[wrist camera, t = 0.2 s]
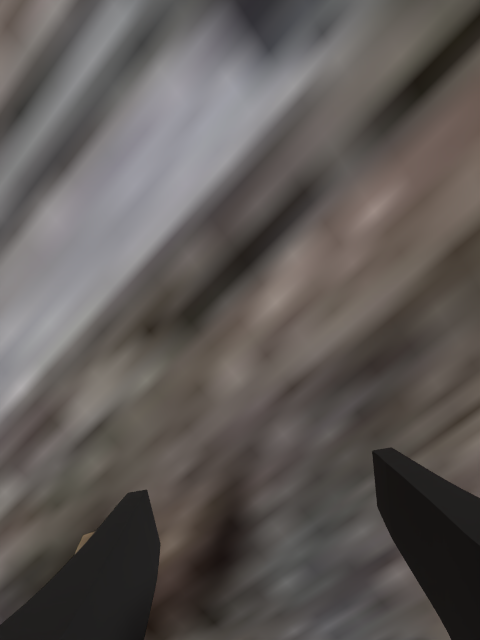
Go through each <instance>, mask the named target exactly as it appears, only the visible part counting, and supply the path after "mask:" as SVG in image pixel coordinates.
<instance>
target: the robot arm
mask: <svg viewBox="0 0 480 640" xmlns="http://www.w3.org/2000/svg"><path fill="white" fill-rule="evenodd" d="M372 454H373V465H374V476H375V487H376V497H377V507H378V509H379V511H380V513H381V516H382V518H383V520H384V522H385V525H386V527H387V529H388V531H389V533H390V535H391V537H392V539H393V541H394V543H395V544H396V546H397V548H398V549H399V551H400V553H401V554H402V556H403V558H404V559H405V561H406V563H407V564H408V566H409V568H410V569H411V571H412V573H413V574H414V576H415V577H416V579H417V581H418V582H419V584H420V586H421V587H422V589H423V591H424V592H425V594H426V596H427V597H428V599H429V600H430V602H431V604H432V605H433V607H434V609H435V610H436V612H437V614H438V616H439V617H440V619H441V621H442V623H443V624H444V626H445V628H446V630H447V632H448V634H449V636H450V638H451V640H480V498H478V497H476V496H474V495H473V494H471V493H469V492H467V491H465V490H463V489H461V488H459V487H457V486H456V485H454V484H452V483H450V482H448V481H447V480H445V479H443V478H441V477H440V476H438V475H436V474H434V473H433V472H431V471H429V470H428V469H426V468H424V467H423V466H421V465H420V464H418V463H416V462H415V461H413V460H411V459H410V458H408V457H406V456H405V455H403V454H402V453H400V452H398V451H396V450H395V449H393V448H386V449H380V450H374V451H372ZM159 555H160V540H159V536H158V532H157V528H156V524H155V520H154V516H153V512H152V508H151V504H150V500H149V496H148V492H147V490H142V491H136V492H130V493H127V495H126V496H125V497H124V498H123V499H122V500H121V501H120V503H119V504H118V505H117V506H116V507H115V509H114V510H113V511H112V512H111V513H110V515H109V516H108V517H107V518H106V520H105V521H104V522H103V523H102V524H101V525H100V527H99V528H98V529H97V530H96V531H95V532H94V534H93V535H92V536H91V537H90V538H89V540H88V541H87V542H86V543H85V544H84V545H83V546H82V547H81V548H80V549H79V551H78V552H77V553H76V554H75V555H74V556H73V557H72V558H71V559H70V560H69V561H68V562H67V564H66V565H65V566H64V567H63V568H62V569H61V570H60V571H59V572H58V573H57V574H56V575H55V576H54V577H53V578H52V579H51V580H50V581H49V582H48V583H47V584H46V585H45V586H44V587H43V588H42V589H41V590H40V591H39V592H38V593H36V594H35V595H34V596H33V597H32V598H31V599H30V600H29V601H28V602H27V603H26V604H25V605H23V606H22V607H21V608H20V609H19V610H18V611H16V612H15V613H14V614H13V615H12V616H10V617H9V618H8V619H7V620H6V621H4V622H3V623H2V624H1V625H0V640H144V636H145V632H146V627H147V623H148V618H149V614H150V609H151V605H152V600H153V595H154V591H155V586H156V581H157V574H158V565H159Z"/></svg>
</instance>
